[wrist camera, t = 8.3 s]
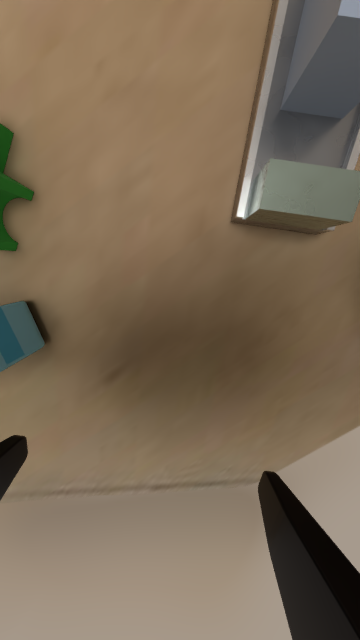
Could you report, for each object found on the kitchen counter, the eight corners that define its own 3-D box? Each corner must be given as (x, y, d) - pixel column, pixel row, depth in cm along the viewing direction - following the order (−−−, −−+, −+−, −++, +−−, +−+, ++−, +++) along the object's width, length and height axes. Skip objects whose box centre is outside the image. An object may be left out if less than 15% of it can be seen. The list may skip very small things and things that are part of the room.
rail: (443, -178, 10) (632, -503, 6) (316, 234, 16) (364, 223, 12) (311, -198, 10) (401, -537, 6) (230, 222, 16) (246, 206, 12)
